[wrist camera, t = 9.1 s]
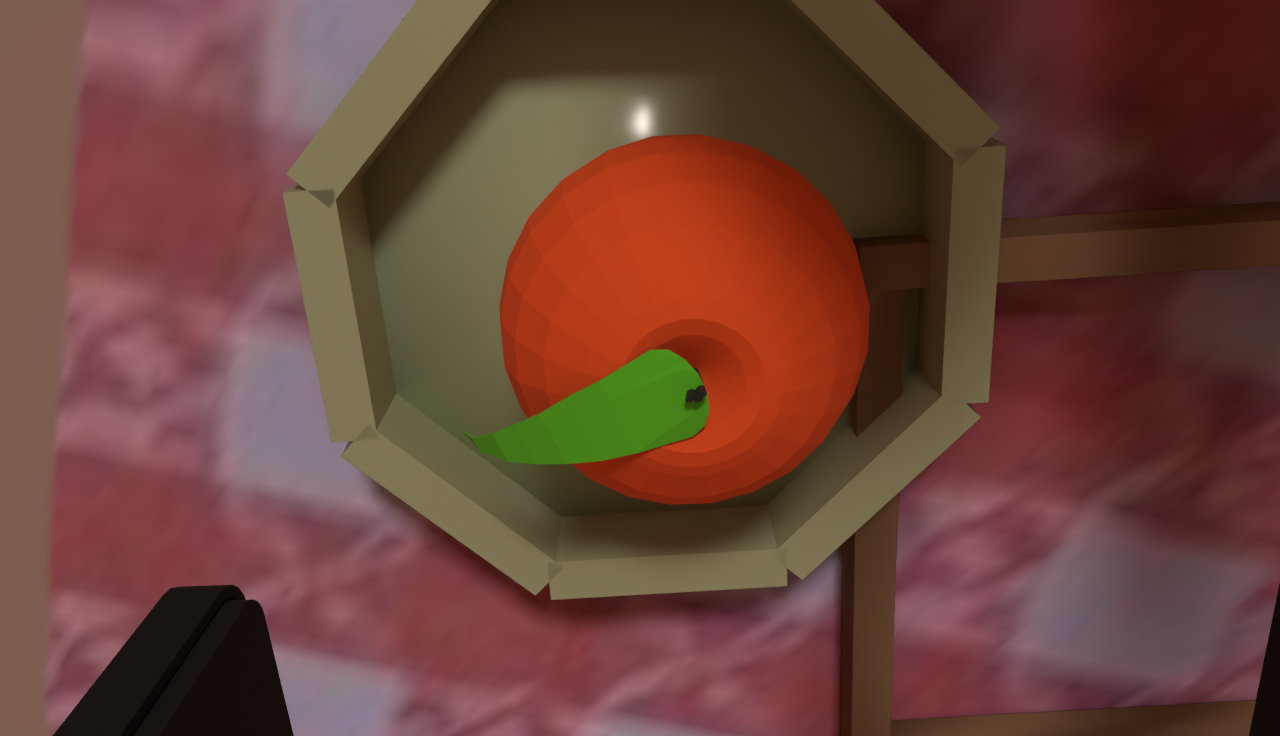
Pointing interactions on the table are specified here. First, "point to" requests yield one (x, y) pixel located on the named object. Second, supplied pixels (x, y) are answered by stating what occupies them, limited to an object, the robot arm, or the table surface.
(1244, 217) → the brown rectangular frame
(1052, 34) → the table surface
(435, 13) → the dish
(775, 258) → the clementine
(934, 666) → the table surface
